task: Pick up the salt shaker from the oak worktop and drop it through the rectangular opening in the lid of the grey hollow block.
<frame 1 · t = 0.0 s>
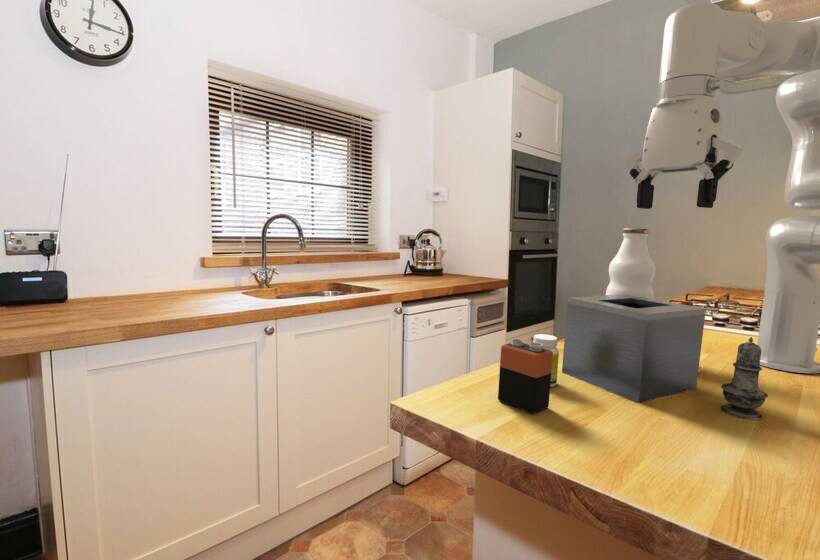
hand: (672, 207, 70), 31 cm above the table, tool pointing down, fingers open, 9 cm apart
supplement bottle: (542, 384, 79), on the table
grey hollow block: (626, 380, 82), on the table
battery: (522, 405, 69), on the table
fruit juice: (623, 356, 98), on the table
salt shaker: (740, 413, 69), on the table
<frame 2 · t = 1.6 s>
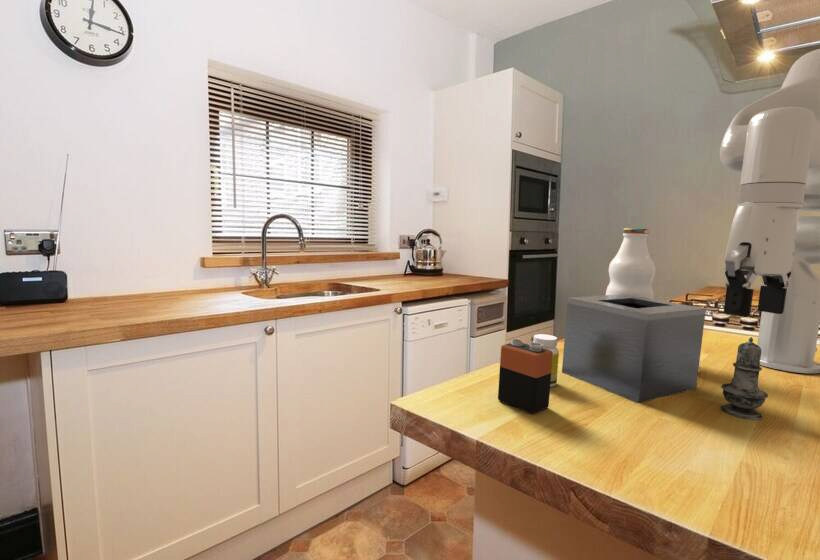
hand: (753, 313, 66), 16 cm above the table, tool pointing down, fingers open, 9 cm apart
nothing on the table moved.
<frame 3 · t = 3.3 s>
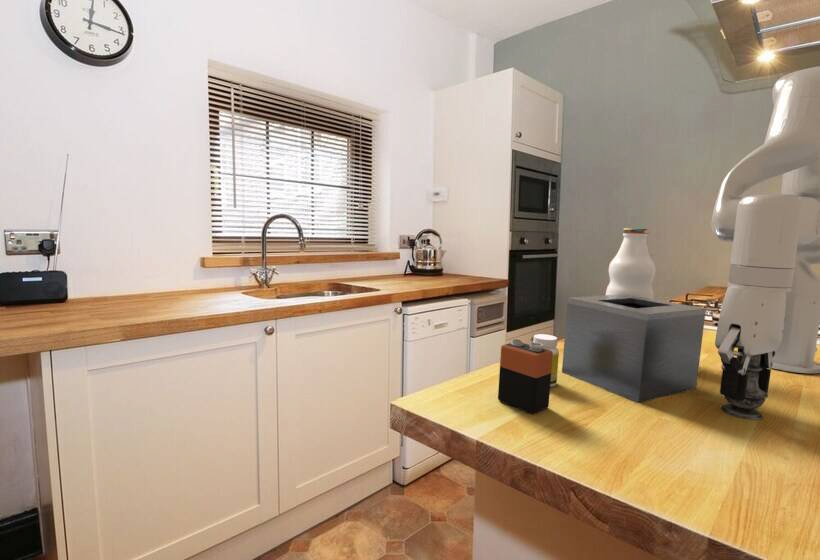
hand: (743, 393, 68), 3 cm above the table, tool pointing down, fingers closed on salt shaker, 5 cm apart
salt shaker: (740, 413, 69), on the table, touching gripper
everything else where it was.
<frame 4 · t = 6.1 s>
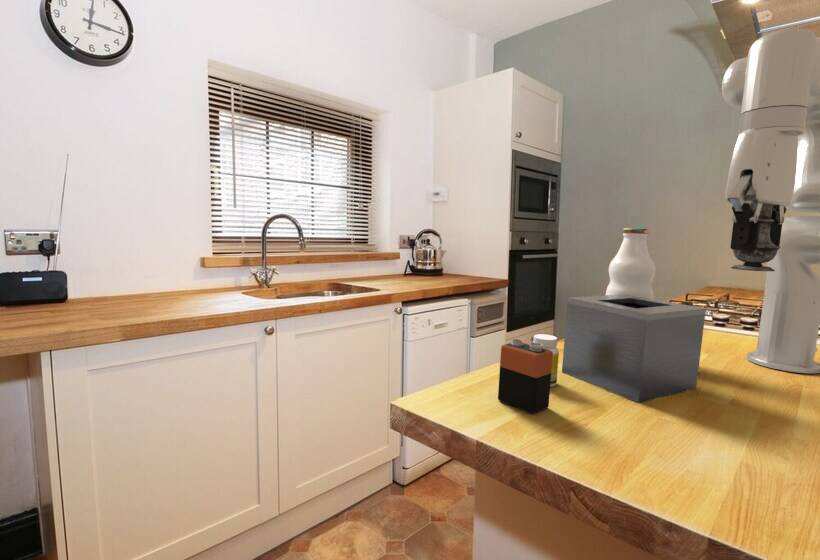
hand: (754, 248, 66), 25 cm above the table, tool pointing down, fingers closed on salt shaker, 5 cm apart
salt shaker: (752, 270, 67), point 22 cm above the table, touching gripper
everything else where it was.
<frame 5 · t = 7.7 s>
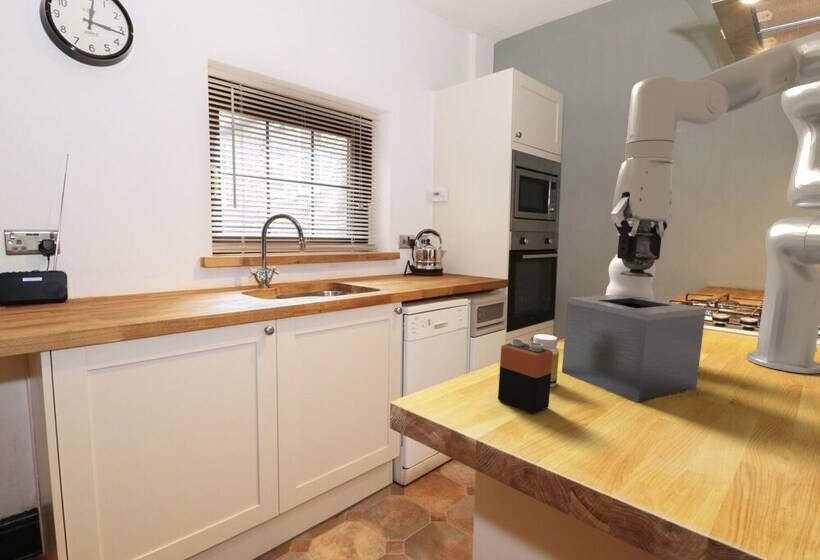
hand: (638, 258, 79), 23 cm above the table, tool pointing down, fingers closed on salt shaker, 5 cm apart
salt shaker: (636, 276, 79), point 19 cm above the table, touching gripper
everything else where it was.
when the fingers open (18 cm above the table, at t = 8.8 s): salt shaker drops 14 cm, point 1 cm above the table.
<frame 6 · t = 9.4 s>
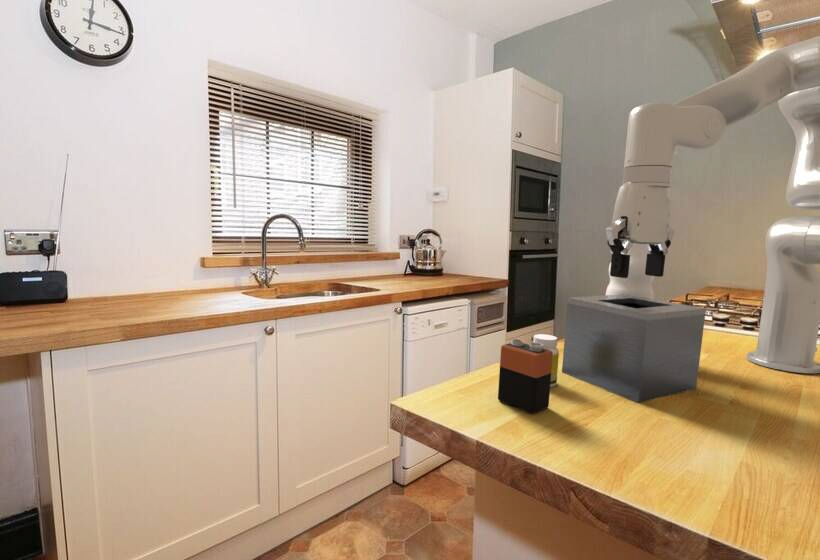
hand: (636, 276, 79), 19 cm above the table, tool pointing down, fingers open, 9 cm apart
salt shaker: (626, 374, 82), point 1 cm above the table
everything else where it was.
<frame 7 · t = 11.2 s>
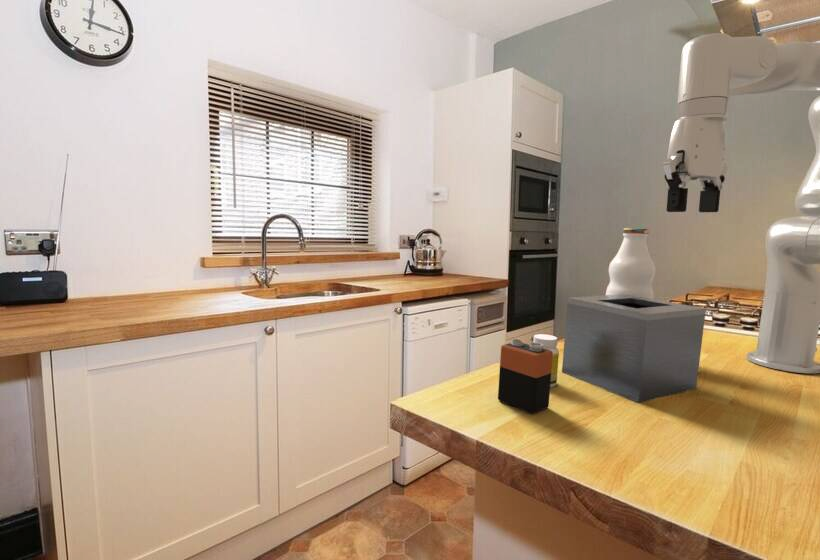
hand: (692, 212, 80), 31 cm above the table, tool pointing down, fingers open, 9 cm apart
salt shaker: (626, 380, 82), resting in grey hollow block
everything else where it was.
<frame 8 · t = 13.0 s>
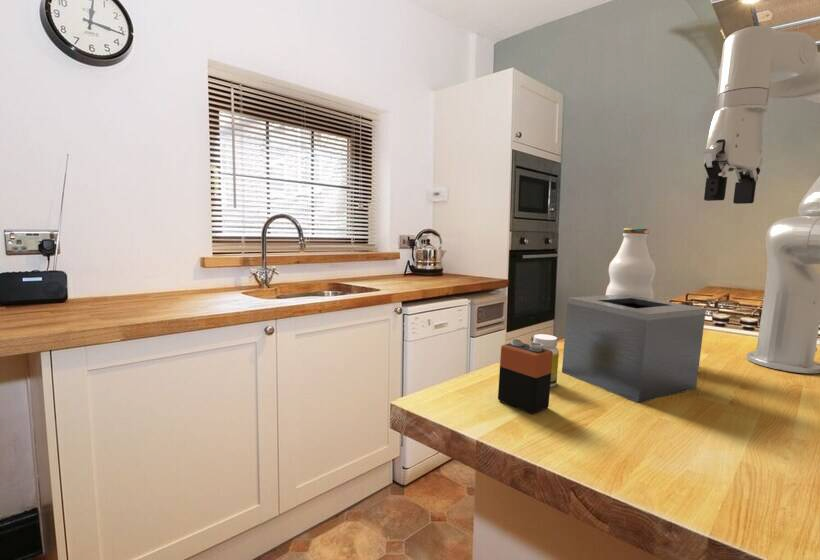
hand: (728, 201, 81), 33 cm above the table, tool pointing down, fingers open, 9 cm apart
nothing on the table moved.
at the end: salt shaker inside the target area on the grey hollow block (0.2 cm from its centre), point 0.0 cm above the grey hollow block's base; the gripper is holding nothing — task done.
